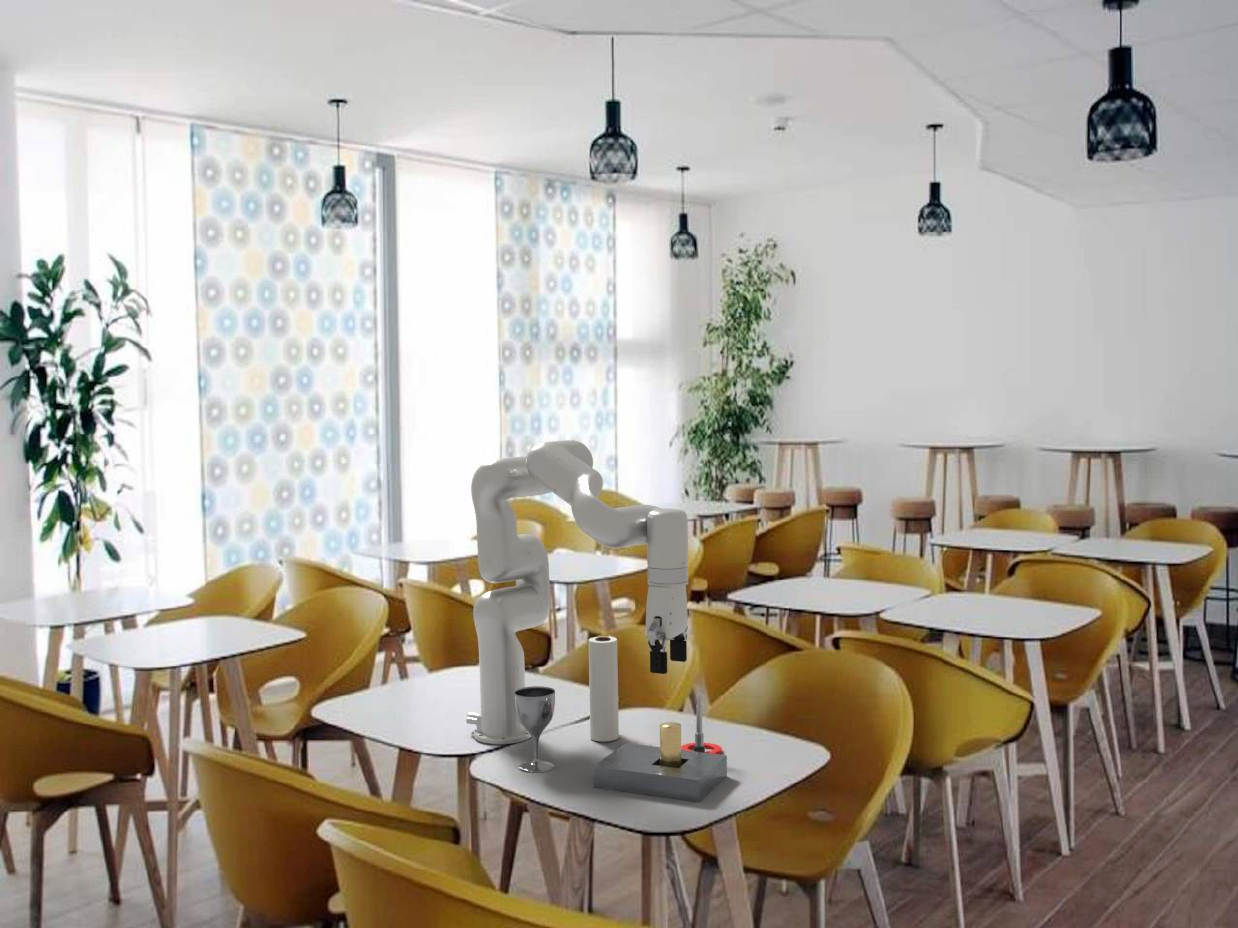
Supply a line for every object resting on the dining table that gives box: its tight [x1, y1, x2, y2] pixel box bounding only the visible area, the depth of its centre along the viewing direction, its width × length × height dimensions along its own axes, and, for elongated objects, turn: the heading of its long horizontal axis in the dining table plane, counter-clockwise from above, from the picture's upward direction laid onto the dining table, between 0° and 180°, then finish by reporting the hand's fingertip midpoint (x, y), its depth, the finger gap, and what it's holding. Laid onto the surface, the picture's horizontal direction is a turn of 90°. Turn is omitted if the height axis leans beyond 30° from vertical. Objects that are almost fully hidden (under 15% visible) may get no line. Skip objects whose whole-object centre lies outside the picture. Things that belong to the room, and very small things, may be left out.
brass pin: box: [659, 721, 682, 768], centre depth 221 cm, size 4×4×11 cm
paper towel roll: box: [588, 634, 620, 743], centre depth 249 cm, size 7×6×21 cm
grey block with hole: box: [592, 742, 728, 803], centre depth 222 cm, size 21×15×4 cm
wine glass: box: [515, 685, 556, 774], centre depth 231 cm, size 8×8×15 cm
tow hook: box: [681, 693, 723, 755], centre depth 239 cm, size 8×13×9 cm
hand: (668, 666), depth 220 cm, fingers open, 9 cm apart
